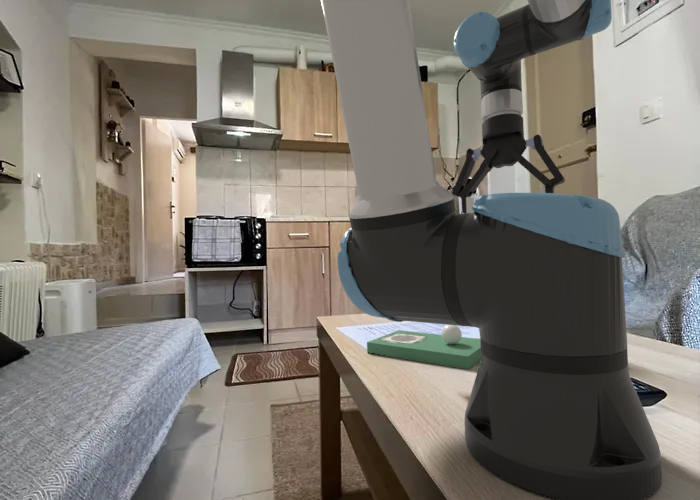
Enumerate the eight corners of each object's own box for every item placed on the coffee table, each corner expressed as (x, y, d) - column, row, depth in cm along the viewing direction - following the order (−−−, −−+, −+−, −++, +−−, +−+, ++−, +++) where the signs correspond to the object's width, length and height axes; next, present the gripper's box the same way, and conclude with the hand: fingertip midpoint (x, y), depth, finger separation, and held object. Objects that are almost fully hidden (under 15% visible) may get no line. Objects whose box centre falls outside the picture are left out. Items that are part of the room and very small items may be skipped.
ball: (457, 347, 62) (456, 326, 62) (438, 345, 64) (437, 325, 64) (464, 343, 64) (464, 323, 64) (446, 340, 66) (445, 321, 66)
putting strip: (468, 369, 56) (468, 356, 56) (367, 352, 68) (366, 342, 68) (491, 351, 66) (490, 340, 66) (399, 339, 77) (398, 330, 77)
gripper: (578, 108, 67) (583, 222, 66) (448, 138, 82) (451, 232, 81) (574, 93, 61) (579, 219, 60) (434, 129, 76) (437, 230, 75)
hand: (505, 226), depth 71 cm, fingers open, 13 cm apart
